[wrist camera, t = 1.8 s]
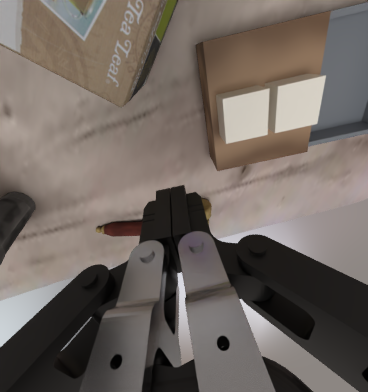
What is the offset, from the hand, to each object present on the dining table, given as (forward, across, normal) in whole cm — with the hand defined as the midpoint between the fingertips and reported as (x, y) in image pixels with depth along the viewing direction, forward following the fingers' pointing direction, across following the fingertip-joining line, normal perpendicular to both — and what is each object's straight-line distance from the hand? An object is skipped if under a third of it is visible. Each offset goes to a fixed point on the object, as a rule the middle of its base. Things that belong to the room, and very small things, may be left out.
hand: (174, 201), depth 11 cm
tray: (+20, -22, 0) cm, 30 cm away
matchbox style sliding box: (+20, -11, 0) cm, 23 cm away
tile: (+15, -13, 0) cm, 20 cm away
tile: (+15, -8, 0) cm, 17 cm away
